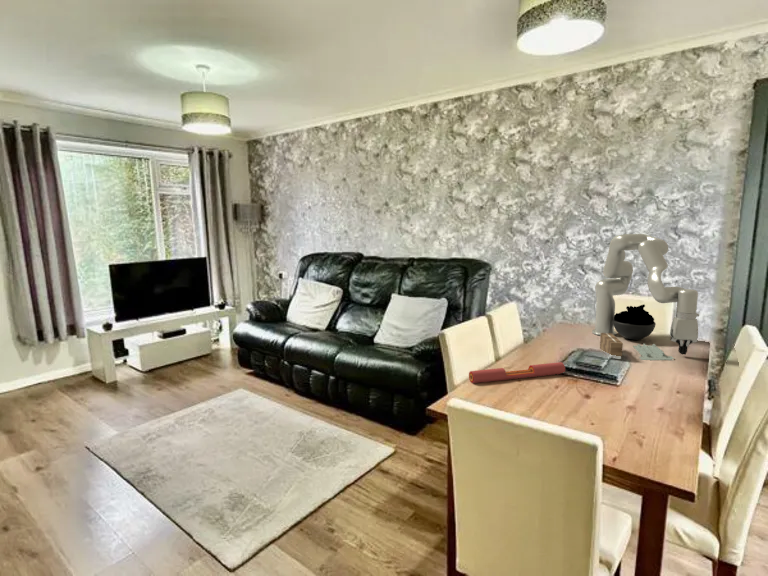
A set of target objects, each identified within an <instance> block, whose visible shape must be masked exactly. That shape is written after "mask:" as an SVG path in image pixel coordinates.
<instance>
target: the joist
mask: <svg viewBox="0 0 768 576" xmlns="http://www.w3.org/2000/svg"><path fill="white" fill-rule="evenodd" d="M599 339H600V342H599V349H600V350H601V351H602V350H603V351H605V352H607V353H609V354H611V355H616V356H622V357H623V347H624V346H623V345H624V343H623V342H622V341H621V340H620V339H619V338H617V336H616V335H615V336H614V335H613V334H612V333H601V336H600V338H599ZM603 351H602V352H603Z"/></svg>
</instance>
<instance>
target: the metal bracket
mask: <svg viewBox="0 0 768 576" xmlns="http://www.w3.org/2000/svg"><path fill="white" fill-rule="evenodd" d="M632 347H633V348H634V349H635V350H636V352H638V354H639V355H640V356H638V358H639V360H641V361H642V360H650V361H673V360H672V359H675V358H674V357H673V356H671V355H666V354H665V352H664V351H663V350H662V349H661V348H659V347H658V346H657V345H656V344H655V343H652V345H647V344H646V343H643V344H642V345H641V344H640V343H638V344H637V345H632Z"/></svg>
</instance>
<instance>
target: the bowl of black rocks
mask: <svg viewBox="0 0 768 576" xmlns="http://www.w3.org/2000/svg"><path fill="white" fill-rule="evenodd" d="M645 307H646V305H645V303H644V304H641V305H638V306H635V305H634V306H633V305H630V306H629V305H628V306H627V305H626V310H624V311H620V312H619V313H618V312H615V316H614V319H613V325H614V330H615V332H616V333H618V334H619V335H620V336H621V337H623V338H625V339H628V340H631V341H632V340H633V341H638V340H642V339H645V338H647V337H649V335H651V334H652V333H653V331H654V330H655V327H656V325H657V324H656V322H655V317H653V315H652V314H650V312H649V311H647V310H646V309H644V308H645Z"/></svg>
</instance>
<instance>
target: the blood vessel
mask: <svg viewBox="0 0 768 576" xmlns="http://www.w3.org/2000/svg"><path fill="white" fill-rule="evenodd" d="M563 372H566V366H565V364H564V363H563V362H561V361H559V362H552V363H551V362H550V363H540V364H538V363H537V364H530V365H528V369H522V370H521V369H520V370H510V371H506V369H505V368H504V367H499V368H498V367H497V368H490V369H488V368H487V369H479V370H470V371H469V372H468V380H469V382H470V383H471V384H480V383H487V382H489V383H490V382H497V381H498V382H499V381H508V380H509V379H510V380H517V379H518V378H519V379H526V378H527V377H529V378H536V377H537V376H538V377H545V376H546V375H548V376H556V375H555V374H557V375H561V374H560V373H563ZM538 377H537V378H538ZM519 379H518V380H519ZM510 380H509V381H510Z"/></svg>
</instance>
